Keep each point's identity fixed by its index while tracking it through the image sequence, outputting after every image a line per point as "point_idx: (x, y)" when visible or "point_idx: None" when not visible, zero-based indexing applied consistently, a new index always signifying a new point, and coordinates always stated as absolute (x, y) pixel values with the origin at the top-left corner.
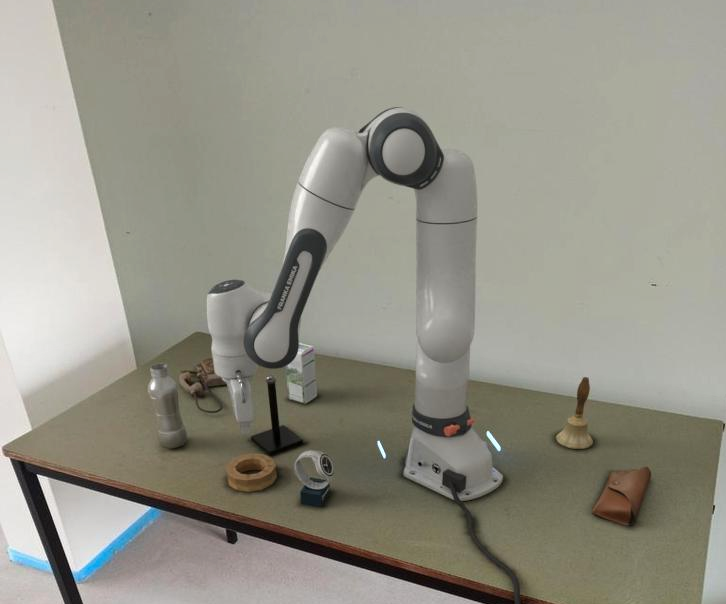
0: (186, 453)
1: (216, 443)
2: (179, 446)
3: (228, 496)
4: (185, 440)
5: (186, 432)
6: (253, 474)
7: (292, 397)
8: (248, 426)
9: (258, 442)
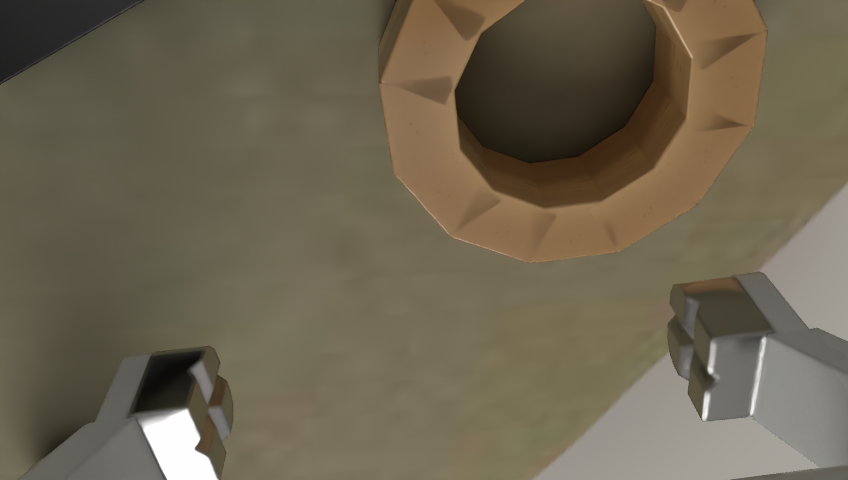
0: None
1: (77, 291)
2: None
3: (710, 201)
4: None
5: None
6: (697, 84)
7: None
8: (803, 332)
9: (96, 25)
